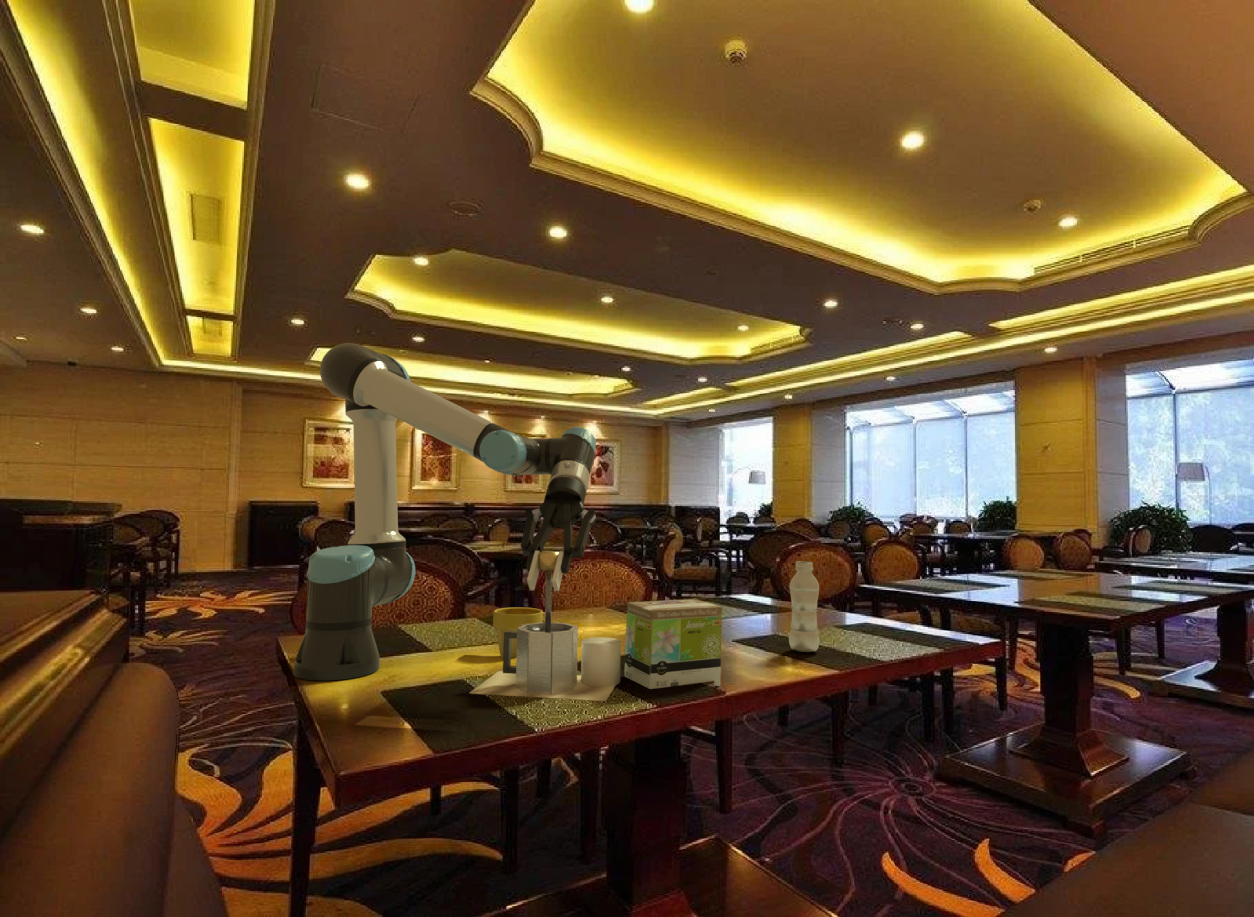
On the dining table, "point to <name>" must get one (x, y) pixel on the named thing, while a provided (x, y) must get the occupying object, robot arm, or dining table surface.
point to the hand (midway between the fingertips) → (542, 585)
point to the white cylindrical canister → (600, 661)
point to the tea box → (673, 643)
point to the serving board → (507, 687)
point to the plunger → (548, 583)
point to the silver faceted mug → (543, 658)
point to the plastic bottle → (804, 609)
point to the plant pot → (514, 623)
